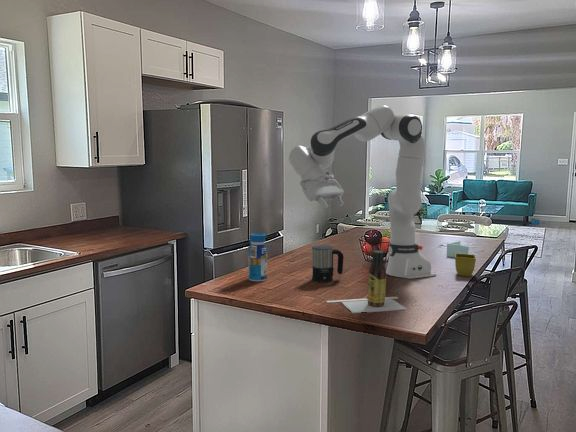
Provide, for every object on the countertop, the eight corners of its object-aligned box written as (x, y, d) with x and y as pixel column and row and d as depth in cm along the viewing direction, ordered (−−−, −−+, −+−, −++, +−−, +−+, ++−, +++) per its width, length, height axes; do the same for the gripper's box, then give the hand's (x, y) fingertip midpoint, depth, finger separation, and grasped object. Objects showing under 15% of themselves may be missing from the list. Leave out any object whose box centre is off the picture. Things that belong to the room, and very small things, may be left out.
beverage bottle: (245, 278, 218) (245, 233, 216) (263, 276, 222) (263, 232, 219) (251, 282, 211) (251, 236, 208) (270, 280, 214) (270, 235, 211)
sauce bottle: (365, 302, 182) (366, 249, 180) (382, 302, 183) (383, 249, 180) (370, 308, 176) (371, 252, 173) (387, 307, 176) (389, 252, 174)
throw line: (396, 297, 190) (396, 296, 190) (398, 298, 189) (398, 297, 189) (326, 301, 184) (326, 300, 184) (327, 303, 183) (327, 302, 183)
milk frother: (318, 283, 210) (318, 249, 208) (300, 275, 224) (300, 243, 222) (346, 280, 216) (347, 246, 214) (327, 272, 230) (328, 240, 228)
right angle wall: (467, 260, 259) (467, 246, 258) (446, 257, 267) (447, 243, 267) (478, 257, 267) (479, 243, 266) (458, 254, 275) (458, 240, 274)
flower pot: (474, 273, 228) (475, 254, 227) (475, 278, 220) (476, 258, 219) (454, 272, 231) (455, 253, 230) (454, 276, 223) (455, 256, 222)
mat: (392, 299, 187) (392, 298, 187) (406, 309, 175) (406, 308, 175) (341, 303, 183) (341, 302, 183) (352, 313, 171) (352, 312, 171)
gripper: (302, 175, 188) (322, 202, 183) (334, 173, 204) (354, 199, 198) (293, 186, 192) (313, 213, 187) (326, 184, 207) (344, 209, 202)
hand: (334, 206), depth 193 cm, fingers open, 8 cm apart
